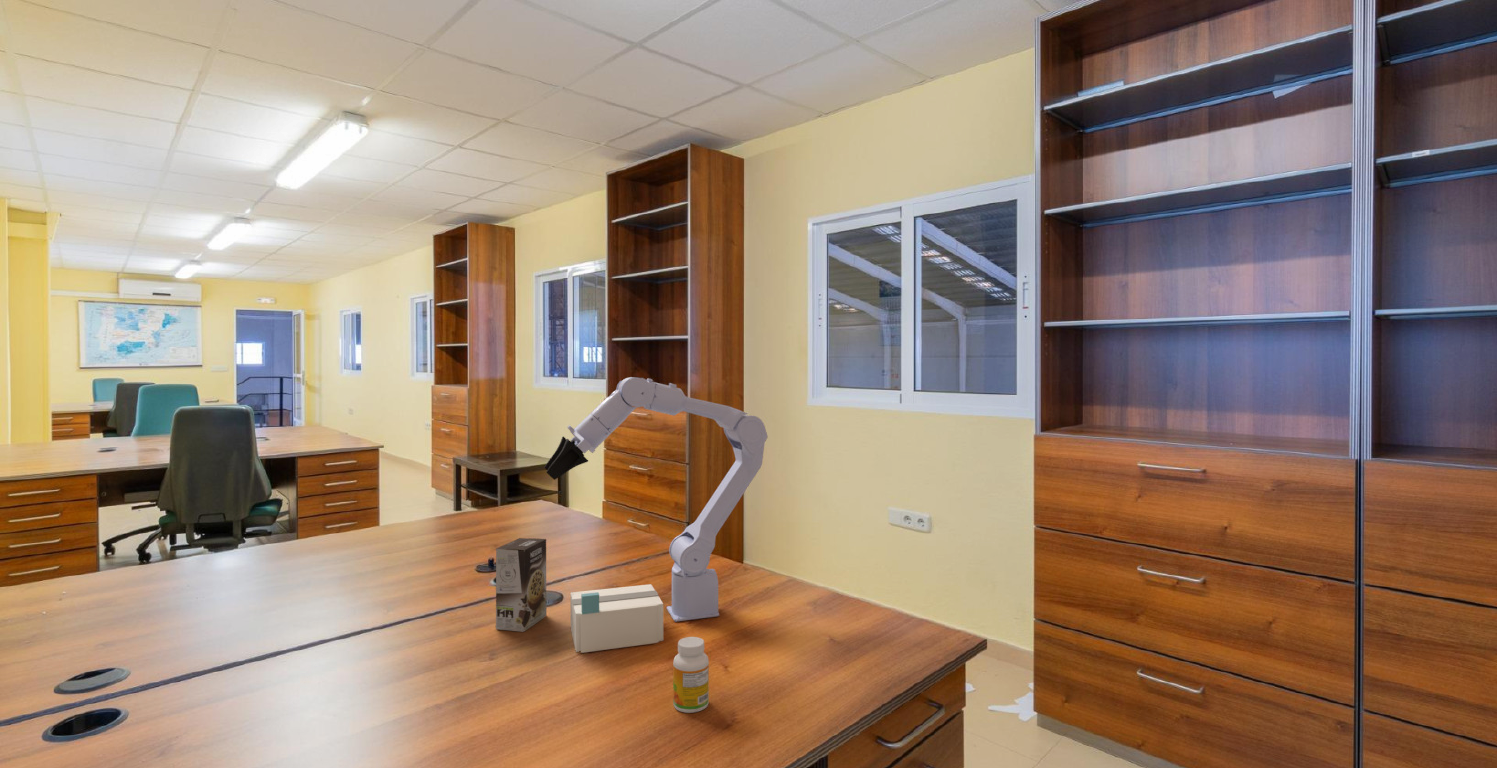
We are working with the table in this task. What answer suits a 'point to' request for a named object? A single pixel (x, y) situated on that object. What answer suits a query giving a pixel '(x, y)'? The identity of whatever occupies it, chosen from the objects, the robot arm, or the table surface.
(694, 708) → the supplement bottle
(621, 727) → the table surface
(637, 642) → the green beige flat block
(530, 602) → the coffee box
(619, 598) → the carton
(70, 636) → the table surface
